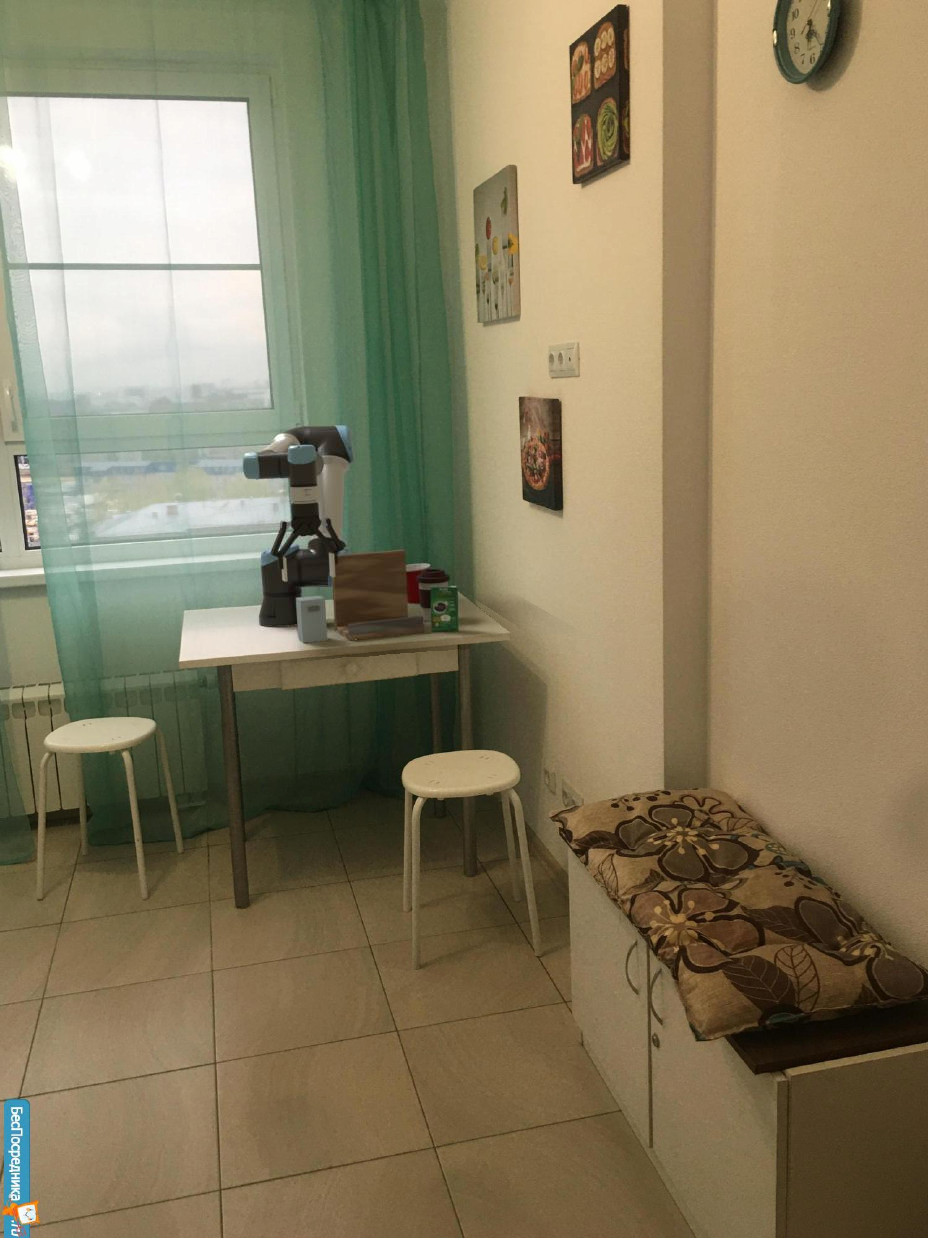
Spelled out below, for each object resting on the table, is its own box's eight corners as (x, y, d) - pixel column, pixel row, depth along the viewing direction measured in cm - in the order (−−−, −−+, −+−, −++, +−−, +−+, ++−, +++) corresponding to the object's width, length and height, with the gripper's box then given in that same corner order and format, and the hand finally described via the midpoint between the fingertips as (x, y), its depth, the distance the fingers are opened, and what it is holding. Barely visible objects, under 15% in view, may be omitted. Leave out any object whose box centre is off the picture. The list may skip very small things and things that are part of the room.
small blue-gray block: (298, 639, 308) (295, 597, 306) (322, 636, 311) (320, 595, 308) (303, 644, 303) (301, 601, 300) (328, 641, 305) (326, 598, 303)
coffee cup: (447, 623, 324) (445, 573, 321) (414, 622, 326) (412, 573, 323) (454, 616, 333) (452, 567, 330) (422, 616, 335) (420, 567, 332)
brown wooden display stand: (335, 630, 318) (330, 555, 314) (405, 622, 327) (402, 549, 322) (350, 640, 305) (346, 562, 300) (423, 631, 313) (421, 555, 309)
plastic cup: (395, 600, 362) (393, 564, 360) (426, 597, 365) (425, 562, 363) (403, 606, 352) (401, 569, 349) (435, 603, 355) (434, 566, 353)
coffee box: (459, 629, 315) (458, 584, 313) (459, 631, 312) (457, 586, 310) (431, 629, 316) (430, 585, 313) (431, 632, 313) (429, 587, 310)
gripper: (262, 505, 291) (267, 584, 295) (352, 500, 301) (356, 576, 305) (256, 503, 298) (261, 580, 302) (344, 498, 307) (348, 572, 311)
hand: (309, 578), depth 303 cm, fingers open, 13 cm apart
